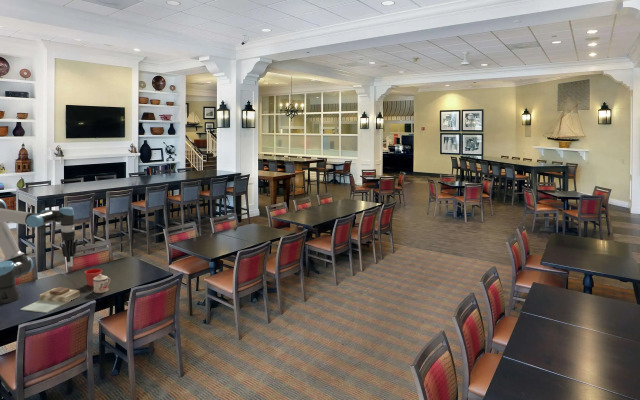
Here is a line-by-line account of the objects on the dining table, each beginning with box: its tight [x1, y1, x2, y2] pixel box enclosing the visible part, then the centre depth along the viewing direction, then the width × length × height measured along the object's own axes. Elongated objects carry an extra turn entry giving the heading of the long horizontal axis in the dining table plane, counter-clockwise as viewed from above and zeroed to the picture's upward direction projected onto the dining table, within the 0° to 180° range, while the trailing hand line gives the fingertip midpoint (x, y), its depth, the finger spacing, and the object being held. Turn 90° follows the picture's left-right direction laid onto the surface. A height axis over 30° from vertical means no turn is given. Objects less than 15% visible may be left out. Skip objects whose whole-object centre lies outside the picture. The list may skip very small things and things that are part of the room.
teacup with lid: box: [93, 273, 111, 294], centre depth 276 cm, size 12×9×12 cm
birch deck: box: [39, 287, 81, 305], centre depth 260 cm, size 18×12×4 cm, turn 81°
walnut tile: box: [50, 286, 71, 295], centre depth 260 cm, size 8×7×2 cm
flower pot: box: [84, 268, 103, 287], centre depth 286 cm, size 11×11×10 cm
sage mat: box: [19, 299, 66, 314], centre depth 248 cm, size 18×14×1 cm
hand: (70, 266), depth 268 cm, fingers closed
